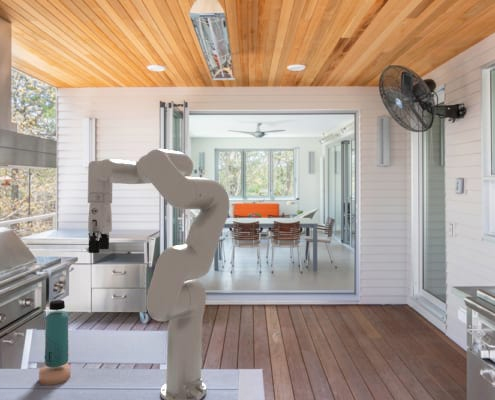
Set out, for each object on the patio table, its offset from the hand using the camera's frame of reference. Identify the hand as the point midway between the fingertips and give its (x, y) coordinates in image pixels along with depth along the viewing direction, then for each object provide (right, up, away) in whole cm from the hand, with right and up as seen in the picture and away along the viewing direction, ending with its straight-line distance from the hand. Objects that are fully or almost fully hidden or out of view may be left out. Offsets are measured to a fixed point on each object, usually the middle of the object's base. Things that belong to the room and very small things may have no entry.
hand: (99, 250), depth 131 cm
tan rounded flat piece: (-8, -36, -13) cm, 39 cm away
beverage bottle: (-8, -33, -13) cm, 37 cm away
